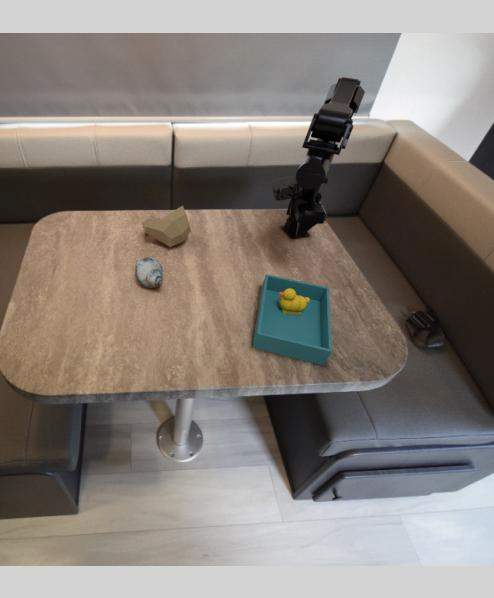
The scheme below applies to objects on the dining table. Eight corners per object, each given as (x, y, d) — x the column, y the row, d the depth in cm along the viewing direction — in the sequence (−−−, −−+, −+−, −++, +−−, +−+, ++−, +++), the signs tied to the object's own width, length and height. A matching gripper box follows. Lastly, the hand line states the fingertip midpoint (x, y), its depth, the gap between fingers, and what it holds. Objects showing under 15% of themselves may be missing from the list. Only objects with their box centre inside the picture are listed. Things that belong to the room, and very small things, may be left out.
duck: (303, 304, 87) (312, 286, 83) (306, 316, 84) (315, 298, 80) (273, 302, 88) (280, 283, 83) (275, 313, 85) (282, 295, 80)
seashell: (158, 270, 98) (155, 300, 90) (134, 260, 96) (128, 290, 88) (169, 254, 94) (166, 284, 85) (143, 243, 92) (138, 273, 83)
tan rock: (197, 237, 108) (176, 207, 109) (204, 222, 97) (180, 190, 99) (157, 262, 105) (136, 232, 107) (159, 250, 95) (135, 216, 96)
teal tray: (261, 288, 92) (265, 274, 88) (321, 301, 89) (329, 287, 85) (252, 347, 78) (257, 333, 75) (323, 365, 75) (332, 351, 72)
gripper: (274, 150, 87) (260, 205, 99) (285, 187, 74) (267, 246, 86) (319, 152, 87) (300, 208, 98) (338, 191, 74) (314, 249, 85)
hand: (294, 226), depth 92 cm, fingers open, 9 cm apart
